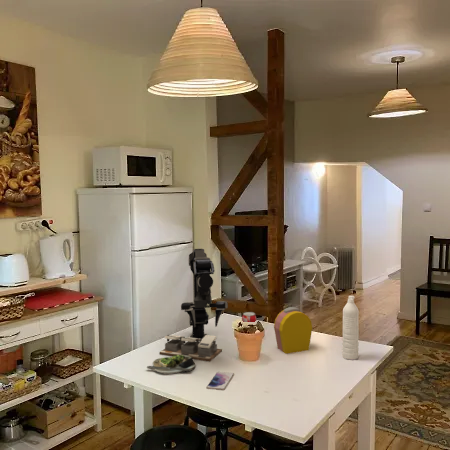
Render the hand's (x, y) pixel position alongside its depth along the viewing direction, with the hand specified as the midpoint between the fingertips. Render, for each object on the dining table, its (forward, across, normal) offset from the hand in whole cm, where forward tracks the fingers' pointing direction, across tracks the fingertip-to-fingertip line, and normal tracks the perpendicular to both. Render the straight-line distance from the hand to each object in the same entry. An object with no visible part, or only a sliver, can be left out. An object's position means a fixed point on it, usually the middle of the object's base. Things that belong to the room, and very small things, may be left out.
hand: (205, 326), depth 193 cm
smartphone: (+19, +9, -16) cm, 26 cm away
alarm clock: (+13, +34, +22) cm, 43 cm away
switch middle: (+6, -9, +10) cm, 15 cm away
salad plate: (+16, -12, -5) cm, 20 cm away
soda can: (+10, +13, +34) cm, 37 cm away
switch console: (+12, -10, +11) cm, 19 cm away
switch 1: (+6, -17, +11) cm, 21 cm away
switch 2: (+7, -1, +8) cm, 11 cm away
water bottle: (+16, +58, +17) cm, 63 cm away
